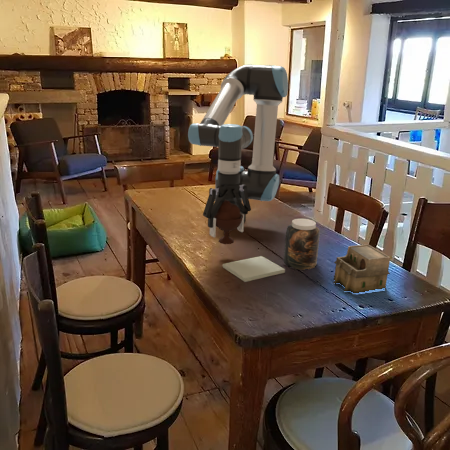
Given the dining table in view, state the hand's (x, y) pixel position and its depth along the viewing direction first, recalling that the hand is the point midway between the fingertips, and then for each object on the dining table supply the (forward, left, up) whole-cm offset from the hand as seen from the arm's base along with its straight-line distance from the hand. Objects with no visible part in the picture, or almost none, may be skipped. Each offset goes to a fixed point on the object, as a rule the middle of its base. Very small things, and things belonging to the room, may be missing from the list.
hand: (226, 233), depth 173 cm
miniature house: (-25, +39, -9) cm, 47 cm away
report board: (-2, +15, -8) cm, 17 cm away
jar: (-20, +17, -9) cm, 28 cm away
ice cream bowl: (0, 0, -3) cm, 3 cm away
